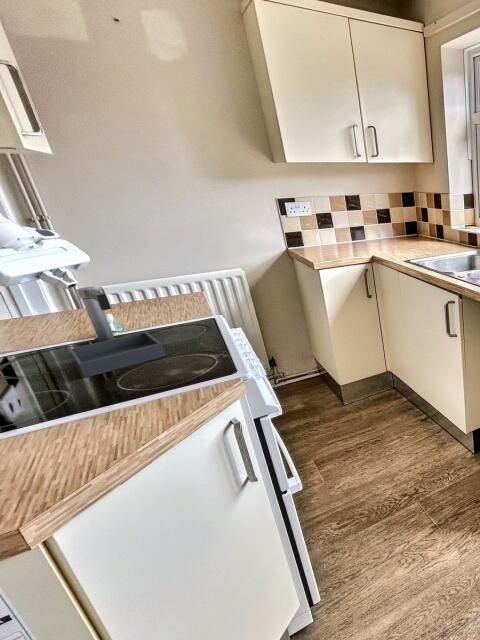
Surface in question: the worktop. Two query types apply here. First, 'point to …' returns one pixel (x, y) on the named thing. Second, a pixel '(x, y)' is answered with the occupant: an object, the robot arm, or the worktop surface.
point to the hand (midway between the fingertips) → (71, 286)
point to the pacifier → (113, 325)
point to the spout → (94, 296)
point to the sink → (116, 353)
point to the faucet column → (98, 320)
